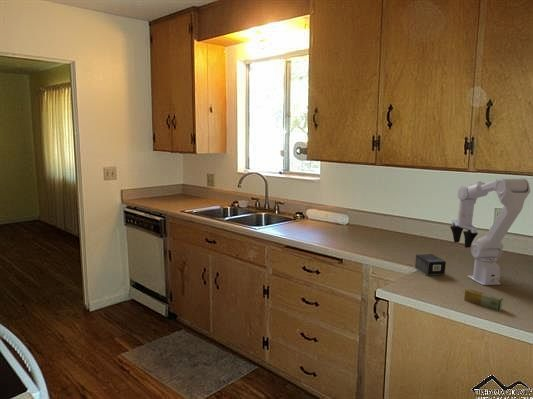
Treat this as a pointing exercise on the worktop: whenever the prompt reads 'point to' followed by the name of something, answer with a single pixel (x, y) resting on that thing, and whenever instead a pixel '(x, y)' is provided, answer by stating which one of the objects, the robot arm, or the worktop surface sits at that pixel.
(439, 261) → the box
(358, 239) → the worktop surface
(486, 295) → the medication box
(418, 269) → the gray flat panel
